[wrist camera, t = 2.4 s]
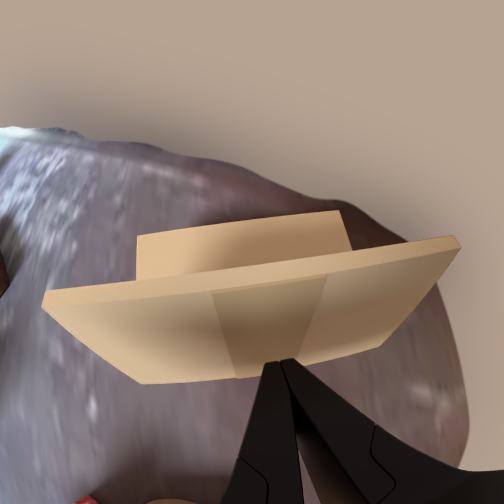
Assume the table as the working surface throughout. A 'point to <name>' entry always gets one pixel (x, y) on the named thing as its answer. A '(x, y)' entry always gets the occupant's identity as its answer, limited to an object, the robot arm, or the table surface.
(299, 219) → the carton
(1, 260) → the brick
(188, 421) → the table surface
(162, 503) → the tan squat rounded block
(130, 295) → the carton lid
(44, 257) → the table surface
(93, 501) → the ink box
